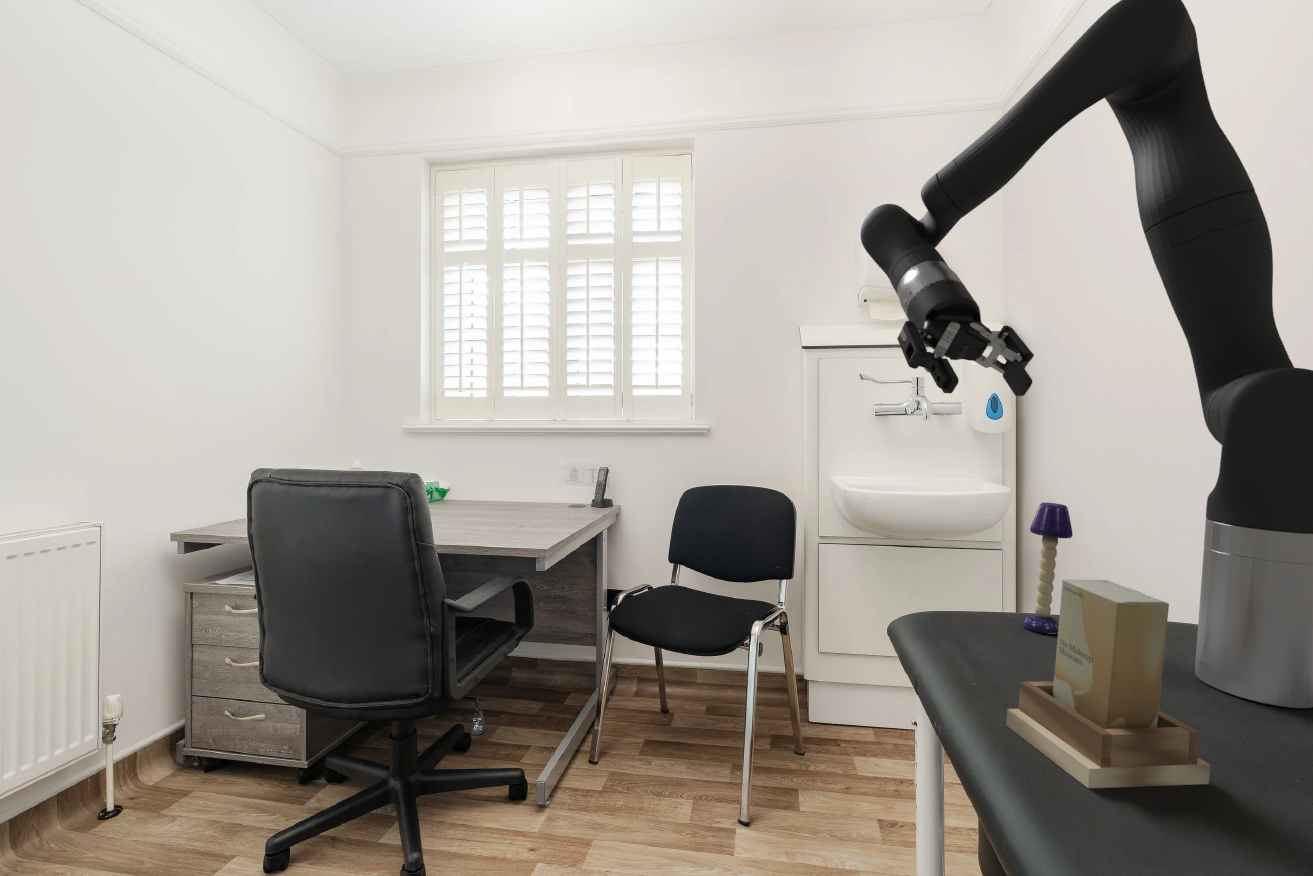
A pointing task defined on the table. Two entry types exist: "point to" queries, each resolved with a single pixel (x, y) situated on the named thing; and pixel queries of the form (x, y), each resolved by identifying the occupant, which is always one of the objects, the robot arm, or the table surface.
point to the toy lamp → (1048, 561)
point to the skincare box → (1110, 653)
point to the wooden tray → (1107, 744)
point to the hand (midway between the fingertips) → (988, 389)
